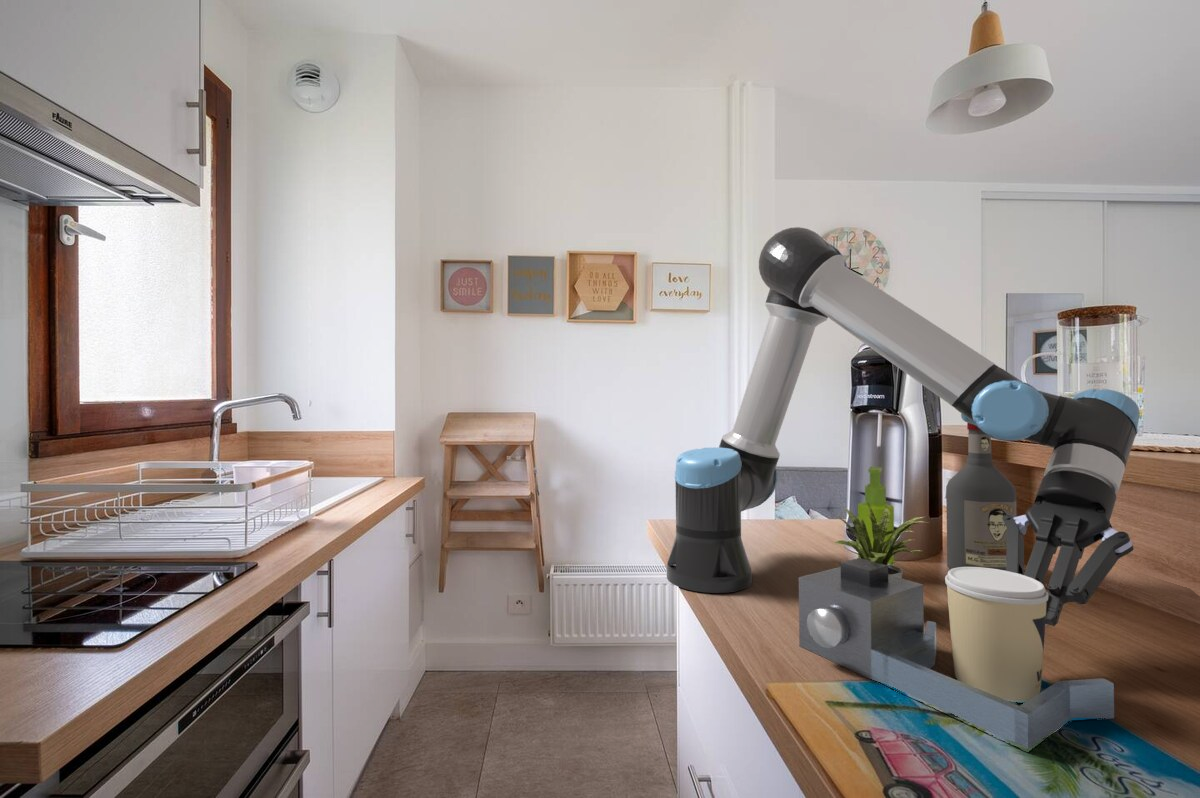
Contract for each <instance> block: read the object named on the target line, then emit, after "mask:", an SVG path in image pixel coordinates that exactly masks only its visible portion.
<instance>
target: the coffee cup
mask: <svg viewBox="0 0 1200 798" xmlns="http://www.w3.org/2000/svg"><path fill="white" fill-rule="evenodd" d="M944 577H945V578H944V580H945V581H944V582H945V585H946V592H947V603H948V604H947V605H948V606H947V607H948V616H949V628H950V629H949V630H950V638H951V640H950V642H951V648H952V649H951V650H952V651H951V652H952V659H953V660H952V661H953V670H954V675H955V678H957V679H956V680H958V681H960V682H963V683H965V684H967V685H970V686H972V687H975V688H977V689H980V690H982V691H985V692H987V693H989V694H992V695H994V696H997V697H999V698H1002V699H1004V700H1007V701H1011V702H1026V701H1028V700H1029V699H1031V698H1033V697H1034V696H1036V695H1037V694H1039V693H1040V692H1041V689H1042V688H1041V686H1042V673H1043V665H1044V664H1043V663H1044V662H1043V661H1044V650H1045V649H1044V647H1045V635H1046V634H1045V633H1046V627H1045V622H1046V601H1048V591H1047V590H1046V586H1045V585H1044V583H1043V584H1042V583H1041V582H1039V581H1037V580H1035V579H1033V578H1030V577H1027V576H1025V575H1021V574H1018V573H1013V572H1009V571H1004V570H999V569H992V568H983V567H957V568H953V569H951V570H949V569H948V572H947V574H946V575H945V576H944Z"/></svg>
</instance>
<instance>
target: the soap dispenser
mask: <svg viewBox="0 0 1200 798" xmlns="http://www.w3.org/2000/svg"><path fill="white" fill-rule="evenodd" d="M882 471H883V467H881V466H869V468H868V473H869V483H868V484H866V485H864V502H859V503H857V518H858V519H859V521H860V523H861V521H862V519H863V521H864V523H865V525H866V529H867V532H868V535H869V538H870V542H871V546H872V549H873V541H874V538H873V532H872V522H871V519H870V517H869V516H867V515H870V511H869V507H868V504H869V505H870V506H871V508H872V511H873V513H874V515H875V518H876V521H877V524H878V523H879V520H880V518H881V516H882V515H883V513H884V509H885V507H886V504H887V502H886V501H887V498H886V495H887V493H886V486H884V485H883V484H881V472H882ZM867 502H868V503H867ZM887 506H888V510H889V511H890V514H889V521H890V523H889V526H888V528H887V531H886V532H888V531H891V530H895V526H894V524H895V523H894V522H895V521H894V517H895V516H894V515H895V514H894V511H895V510H894V506H893V505H891V504H887ZM891 534H892V533H891ZM891 534H889V535H886V536H885V538H884V542H885V541H887V540H888V538H889V537H890V536H891ZM894 538H895V537H894ZM894 538H893V539H894ZM892 541H893V540H892ZM894 545H895V544H894ZM894 545H893V546H894ZM889 546H890V545H889ZM889 546H888V547H889ZM888 547H887V549H888ZM887 549H886V550H887ZM885 552H886V551H885ZM884 554H885V553H884ZM857 558H861V557H860V555H859V554H858V553H857ZM888 564H892V565H894V566H895V554H894V555H893V556H892V557H891V559H890V560H889V562H888Z"/></svg>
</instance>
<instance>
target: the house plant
mask: <svg viewBox="0 0 1200 798" xmlns="http://www.w3.org/2000/svg"><path fill="white" fill-rule="evenodd" d="M867 503H868V502H867ZM868 507H869V511H870V515H867V516H869V517H870V519H871V522H872V532H873V538H874V541H873V549H872V546H871V542H870V538H869V535H868V532H867V529H866V525H865V523H864V521H863V519H862V521H861V523H860V521H859V519H858V516H857V515H855V514H854V513H852V512H851V510H849V509H847V508H845V507H843V509H844V510H845V512H846V513H847V515H848V516H849V518H850V521H851V523H852V524H853V526H854V527H852V526H851V525H850V524H849V523H848V522H847V521H846V520H845V519H843V518H842V517H840V516H838V518H839V519H840V520H841V521H842V522H843V523H844V524H845V525H846V526H847V528H848V529H849V530H850V531H851V532H852V533H853V534H854V536H855V538H856V540H855V541H853V540H847V541H846V540H837V541H835V542H834V544H838V545H839V544H840V545H845V546H848V547H850V548H853V549H854V550H855V551H856V553H857V555H858V554H859V555H860V557H861V559H865V560H869V561H873V562H876V563H880V564H884V565H888V575H891V576H894V577H898V578H902V579H903V569H902V568H900V567H899V566H897V565H895V564H894V565H892V564H888V562H889V560H890V559H891V557H892V556H893V555H894V556H895V555H896V554H897V553H900V552H907V553H911V554H912V553H913V554H915V555H916V556H919V557H920V558H921V559H922V556H921V555H920V554H919V553H918V552H922V550H921V549H914V550H913V549H912V548H911V547H909V546H906V545H905V544H906V543H907V542H910V541H915V540H916V539H915V538H914V539H913V538H911V539H910V538H909V539H904V540H902V541H897V540H898V539H899V538H900V536H901V535H902V534H903V533H906V532H907V533H909V532H910V533H914V531H913V530H910V529H911V526H912V525H919V523H922V524H923V523H928V524H929V523H930V522H928V521H923V520H919V519H923V518H926V517H928V516H918V517H913V518H910V519H907V520H906V521H904V522H903V523H901V524H900V525H899V526H898V527H896V528H894V530H891V531H888V532H886V531H887V528H888V526H889V523H890V521H889V514H890V511H889V510H888V506H887V503H886V507H885V509H884V513H883V515H882V516H881V518H880V520H879V523H878V524H877V521H876V518H875V515H874V513H873V511H872V508H871V506H870V505H869V504H868ZM891 533H892V534H891ZM889 534H891V536H890V537H889V538H888V540H887V541H885V542H884V538H885V536H886V535H889ZM893 538H894V539H893ZM892 540H893V541H892ZM895 543H896V544H895ZM889 545H890V546H889ZM893 545H894V546H893ZM888 546H889V547H888ZM887 547H888V549H887ZM907 548H909V549H907ZM886 549H887V550H886ZM885 551H886V552H885ZM884 553H885V554H884ZM907 553H905V554H904V555H903V556H901V557H900V558H898V559H897V560H894V563H896V562H897V561H899V560H900V559H901V558H903V557H904V556H905V555H907Z"/></svg>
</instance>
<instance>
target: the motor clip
mask: <svg viewBox="0 0 1200 798" xmlns="http://www.w3.org/2000/svg"><path fill="white" fill-rule="evenodd" d="M924 619H925V617H924V584H922V583H919V582H916V581H912V580H907V579H904V578H903V577H902V578H898V577H894V576H891V575H888V565H884V564H880V563H876V562H873V561H869V560H865V559H861V558H858V557H857V558H854V559H849V560H846V561H841V562H840V566H838V567H834V568H830V569H826V570H822V571H818V572H815V573H810V574H806V575H803V576H799V577H798V621H799V622H798V625H799V626H798V627H799V628H798V632H799V633H798V634H799V635H798V636H799V642H798V643H799V644H798V645H799V647H801V648H803V649H805V650H807V651H809V652H812V653H813V654H816V655H818V656H821V657H822V658H825V659H827V660H829V661H831V662H833V663H834V664H837V665H839V666H841V667H843V668H845V669H848V670H850V671H852V672H854V673H857V674H859V675H860V676H863V677H865V678H867V679H868V680H871V679H872V680H871V681H873V680H876V681H878V682H881V683H884V684H887V685H889V686H891V687H894V688H896V689H898V690H900V691H902V692H906V693H908V694H910V695H912V696H914V697H916V698H918V699H921V700H923V701H925V702H927V703H929V704H932V705H934V706H936V707H938V708H942V709H943V710H945V711H947V712H950V713H952V714H954V715H955V716H958V717H960V718H962V719H964V720H966V721H967V722H970V723H971V724H974V725H975V726H977V727H980V728H982V729H985V730H986V731H989V732H991V733H993V734H996V735H998V736H1000V737H1003V738H1006V739H1008V740H1010V741H1013V742H1016V743H1017V744H1020V745H1021V746H1023V747H1025V748H1026V749H1029V748H1031V747H1032V746H1034V745H1035V744H1036V743H1038V742H1039V741H1040V740H1041V739H1043V738H1045V737H1046V736H1048V735H1049V734H1051V733H1052V732H1054V731H1056V730H1057V729H1059V728H1060V727H1061V726H1062V725H1063V724H1065V723H1066V722H1067V721H1068V720H1070V719H1073V718H1074V719H1075V718H1085V717H1086V718H1101V719H1100V720H1109V719H1115V687H1114V686H1115V683H1114V682H1112V681H1110V680H1108V679H1105V678H1104V677H1103V678H1102V677H1101V678H1089V679H1088V678H1087V679H1084V678H1083V679H1071V680H1069V679H1068V680H1059V681H1056V682H1055V683H1053V684H1051V685H1050V686H1048V687H1047V688H1045V689H1044V690H1042V691H1040V693H1039V694H1037V695H1036V696H1034V697H1033V698H1031V699H1029V700H1028V701H1026V702H1025V703H1023V704H1020V705H1018V704H1017V703H1011V702H1009V701H1007V700H1004V699H1002V698H999V697H997V696H994V695H992V694H989V693H987V692H985V691H982V690H980V689H977V688H975V687H972V686H970V685H967V684H965V683H963V682H960V681H958V680H957V679H955V678H952V677H950V676H948V675H945V674H943V673H940V672H937V670H934V669H931V668H933V667H935V666H936V665H935V664H936V658H937V622H935V621H930V620H926V625H925V624H924V623H925V622H924ZM924 625H925V630H924ZM878 682H877V683H878ZM1102 718H1103V719H1102ZM1104 718H1105V719H1104Z"/></svg>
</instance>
